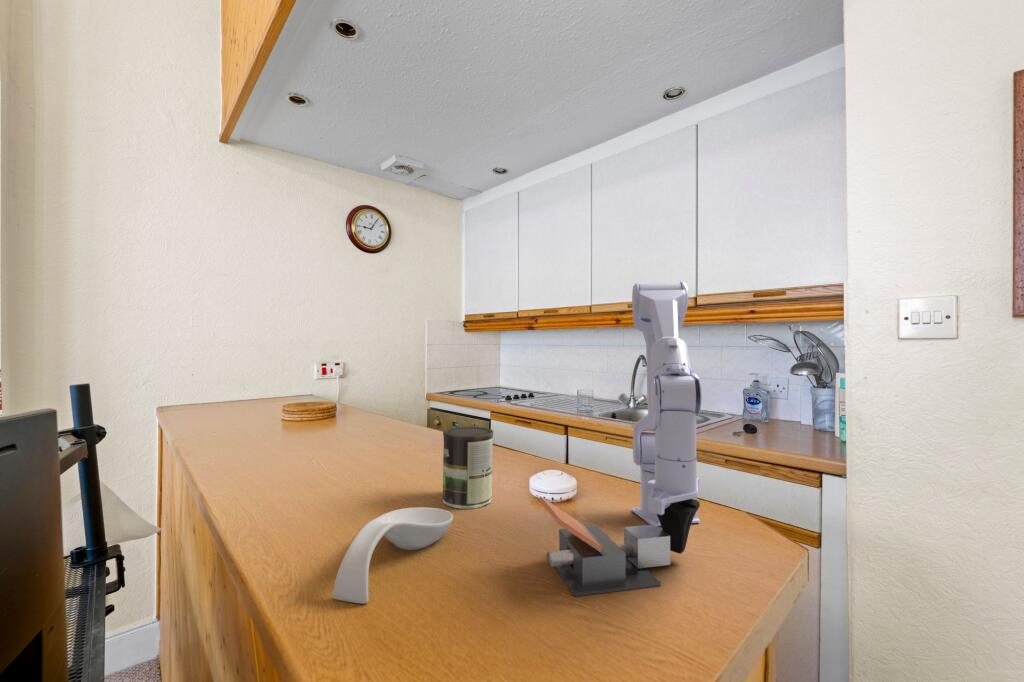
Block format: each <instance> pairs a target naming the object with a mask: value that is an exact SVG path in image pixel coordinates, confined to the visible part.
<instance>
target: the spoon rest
mask: <svg viewBox="0 0 1024 682" xmlns="http://www.w3.org/2000/svg"><path fill="white" fill-rule="evenodd" d="M453 520H454V515H453V514H452V513H451V511H448V510H446V509H443V508H438V507H436V508H435V507H425V506H423V507H405V508H400V509H395V510H391V511H389V512H385V513H382V514H381V515H380V516H378V517H376V518H373V519H371V520H370V521H368V522H367V523H366V524H364V526H363V527H362V528H361V529H360V530H358V531H359V532H358V533H357V534H356V536H355V537H354V538H353V540H352V541H351V543H350V545H349V547H348V549H347V551H346V552H345V554H344V556H343V558H342V561H341V563H340V566H339V568H338V571H337V574H336V577H335V581H334V585H333V591H332V597H333V599H334V600H336V601H342V602H348V603H352V604H353V603H354V604H362V605H364V604H367V603H368V602H369V572H370V563H371V559H372V555H373V553H374V551H375V548H376V546H377V545H378V543H379V542H380V540H381V539H382V538H383V537H384V538H386V539H387V540H388V541H389V542H390V543H392V544H393V545H394V546H395V547H396V548H398V549H401V550H406V551H414V550H421V549H424V548H427V547H430V546H431V545H433V544H434V543H435V542H436V541H438V540H440V539H441V538H442V537H443V536H444V535H445V534H446V533H447V532H448V531H449V529H450V528H451V525H452V524H453Z"/></svg>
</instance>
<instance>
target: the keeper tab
mask: <svg viewBox="0 0 1024 682" xmlns="http://www.w3.org/2000/svg"><path fill="white" fill-rule="evenodd" d="M538 501H539V503H540V504H541V505H542V506H543V508H544V509H545V510H546V511H547V512H548V513H549V515H550V517H551V518H553V519H554V521H555V522H556V523H557V525H559V526H560V527H562V529H564V528H565V529H566V530H568V531H569V532H571V533H572V534H574V535H575V536H577V537H578V538H580V539H581V540H583V541H584V542H586V543H587V544H589V545H590V546H592V547H593V548H595V549H596V550H598V551H599V552H600V553H601V554H602V555H603V556H606V555H607V554H608V550H607V549H606V548H605V547H604V546H603V545H602V544H601V543H600V542H599V541H598V540H597V539H596V538H595V537H594V535H593V534H592V533H591V532H590V531H589V530H588V529H587V528H586V527H587V526H586V525H584V524H583V523H582V522H581V521H580V520H577V519H575V518H574V517H572V516H571V515H569V514H568V513H567V512H565V511H563V510H562V509H560V508H559V507H557V506H556V505H554V504H553V503H551V502H550V501H548V499H546V498H544V497H543V496H539V498H538Z"/></svg>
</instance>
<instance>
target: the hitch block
mask: <svg viewBox="0 0 1024 682" xmlns="http://www.w3.org/2000/svg"><path fill="white" fill-rule="evenodd" d="M585 527H586V528H587V529H588V530H589V531H590V532H591V533H592V534H593V535H594V537H595V538H596V539H597V540H598V541H599V542H600V543H601V544H602V545H603V546H604V547H605V548H606V549H607V550H608V554H607V555H606V556H603V555H602V554H601V553H600V552H599V551H598V550H596V549H595V548H593V547H592V546H590V545H589V544H587V543H586V542H584V541H583V540H581V539H580V538H578V537H577V536H575V535H574V534H572V533H571V532H569V531H568V530H566V529H565V528H559V530H558V551H562V550H572V552H573V564H571V565H561V566H554V567H555V569H556V571H557V572H558V574H559V576H560V577H561V579H562V580H563V582H564V583H565V585H566V586H567V588H568V590H569V591H570V593H571V595H572V596H573V597H574V598H575V597H583V596H589V595H599V594H605V593H613V592H615V593H616V592H623V591H630V590H639V589H645V588H646V589H647V588H652V587H653V588H654V587H661V586H662V584H661V581H660V580H659V579H658V578H657V577H655V575H653V574H652V573H651V571H649V570H648V568H637V567H636V566H635V565H634V564H633V563H632V562H631V561H630V560H629V559H628V558H626V553H624V552H623V551H622V550H621V549H620V548H619V547H618V546H617V545H618V544H617V543H615V542H614V541H613V540H612V539H611V538H610V537H609V536H608V535H607V534H606V533H605V532H604V531H603V530H602V529H601V528H600V527H599V526H598V525H589V526H585ZM549 552H550V551H547V553H546V554H547V555H546V556H547V557H548V558H549Z"/></svg>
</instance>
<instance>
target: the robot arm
mask: <svg viewBox="0 0 1024 682" xmlns="http://www.w3.org/2000/svg"><path fill="white" fill-rule="evenodd" d="M631 296H632V297H631V299H632V300H631V301H632V303H631V305H632V306H631V307H632V308H631V309H632V323H633V324H634V325H633V327H634V329H636V330H638V331H640V332H642V333H643V337H644V338H643V339H644V341H645V350H646V353H645V357H646V390H647V392H646V393H647V396H646V397H647V414H646V415H645V416H643V417H642V418H640V419H639V420H638V421H636V422H635V424H634V426H633V435H632V460H633V463H634V464H635V465H636V466H639V467H640V507H637V506H636V507H631V510H630V511H632V512H633V513H634V514H635V515H637V516H638V517H640V518H641V519H642V520H643V521H644V522H647V524H648V525H656V526H657V527H661V530H663V531H664V532H665V533H667V534H668V535H670V552H673V553H676V554H683V553H684V552H685V550H686V546H687V542H688V538H689V533H690V529H691V525H692V524H696V523H700V522H701V520H700V518H698V510H699V509H700V501H699V500H698V496H699V490H700V477H697V472H698V471H697V469H698V468H697V467H698V466H697V465H698V464H697V463H698V462H697V415H700V412H701V408H702V401H703V400H702V399H703V396H702V395H703V394H702V386H701V381H700V378H699V376H698V375H697V373H696V370H695V369H694V370H693V368H692V365H691V364H692V363H691V359H690V353H689V348H688V345H687V343H686V342H685V341H684V340H683V339H681V338H679V330H680V329H681V328H682V327H683V323H684V322H685V318H686V313H687V311H688V308H689V307H688V306H689V289H688V285H687V284H686V283H685V281H680V282H662V283H661V282H660V283H659V282H658V283H657V282H656V283H655V282H654V283H653V282H651V283H638V282H636V283H634V284H633V286H632V295H631ZM695 414H696V415H695ZM647 431H648V432H647Z"/></svg>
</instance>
